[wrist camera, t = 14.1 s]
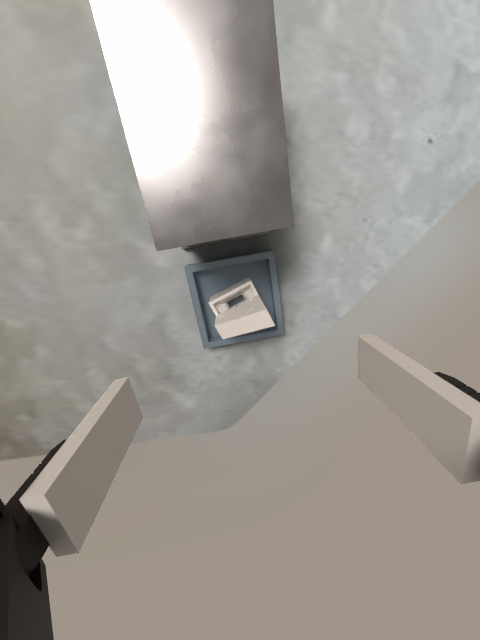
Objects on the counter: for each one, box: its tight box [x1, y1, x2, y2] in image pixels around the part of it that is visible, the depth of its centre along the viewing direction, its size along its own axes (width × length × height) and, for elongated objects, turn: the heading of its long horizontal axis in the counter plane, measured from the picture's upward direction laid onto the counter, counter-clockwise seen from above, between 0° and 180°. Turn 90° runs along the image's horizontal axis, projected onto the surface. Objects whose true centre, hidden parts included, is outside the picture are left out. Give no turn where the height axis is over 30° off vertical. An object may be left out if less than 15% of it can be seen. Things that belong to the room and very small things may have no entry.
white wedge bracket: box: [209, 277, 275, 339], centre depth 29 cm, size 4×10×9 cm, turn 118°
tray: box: [184, 250, 285, 349], centre depth 32 cm, size 11×11×2 cm
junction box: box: [89, 0, 294, 251], centre depth 22 cm, size 11×17×13 cm, turn 10°
